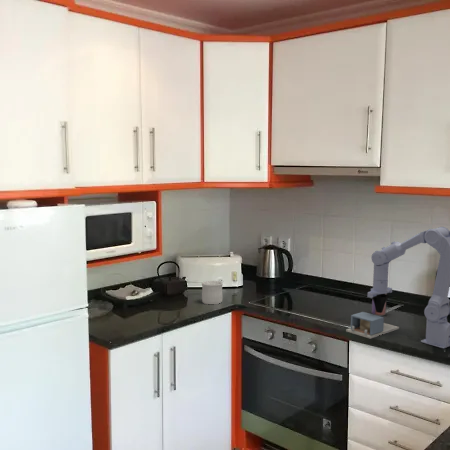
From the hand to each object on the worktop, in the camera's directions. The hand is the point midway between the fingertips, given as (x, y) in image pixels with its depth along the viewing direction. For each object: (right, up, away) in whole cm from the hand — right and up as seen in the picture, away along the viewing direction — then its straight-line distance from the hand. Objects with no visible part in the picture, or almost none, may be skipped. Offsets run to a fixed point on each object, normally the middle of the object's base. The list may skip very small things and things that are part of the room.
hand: (379, 312), depth 223 cm
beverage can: (+6, -5, +22) cm, 23 cm away
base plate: (-3, -7, -1) cm, 8 cm away
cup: (-69, -2, +39) cm, 79 cm away
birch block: (-6, -7, -4) cm, 10 cm away
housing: (-6, -6, -4) cm, 10 cm away
